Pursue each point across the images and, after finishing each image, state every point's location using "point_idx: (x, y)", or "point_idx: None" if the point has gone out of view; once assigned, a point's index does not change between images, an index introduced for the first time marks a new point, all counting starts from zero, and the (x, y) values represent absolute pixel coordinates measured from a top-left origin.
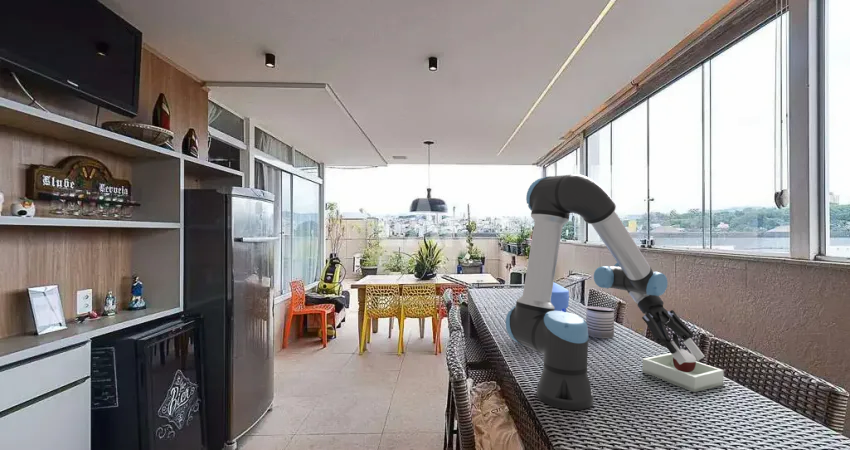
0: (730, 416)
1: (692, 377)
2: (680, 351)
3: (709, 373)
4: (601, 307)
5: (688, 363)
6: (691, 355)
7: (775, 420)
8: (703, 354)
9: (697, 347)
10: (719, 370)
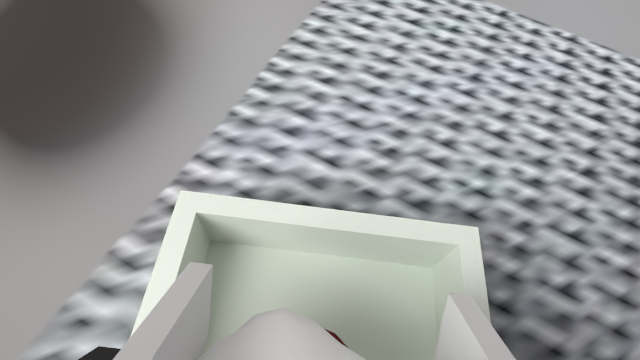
0: (508, 104)
1: (477, 243)
2: (496, 356)
3: (329, 209)
4: None
5: (341, 343)
6: (281, 342)
7: (399, 39)
8: (182, 271)
9: (156, 320)
10: (212, 200)
